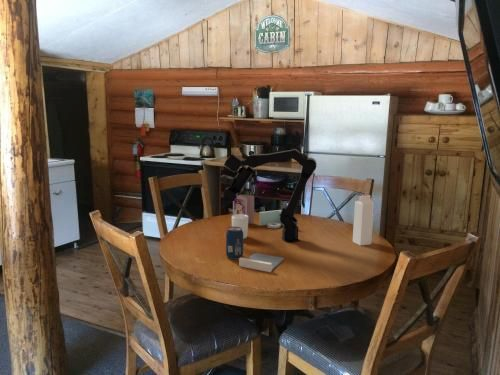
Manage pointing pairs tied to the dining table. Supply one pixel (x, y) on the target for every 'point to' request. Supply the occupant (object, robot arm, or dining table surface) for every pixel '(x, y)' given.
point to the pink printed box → (244, 206)
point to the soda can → (234, 242)
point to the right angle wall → (270, 219)
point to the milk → (363, 220)
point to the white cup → (241, 223)
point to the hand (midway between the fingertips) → (224, 205)
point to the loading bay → (260, 262)
